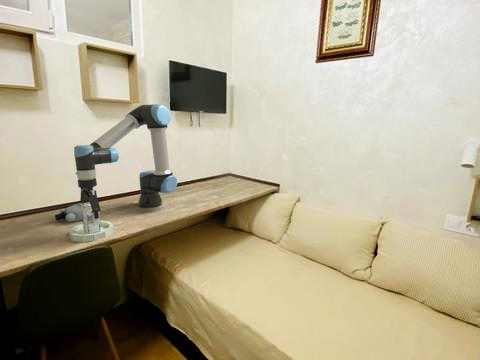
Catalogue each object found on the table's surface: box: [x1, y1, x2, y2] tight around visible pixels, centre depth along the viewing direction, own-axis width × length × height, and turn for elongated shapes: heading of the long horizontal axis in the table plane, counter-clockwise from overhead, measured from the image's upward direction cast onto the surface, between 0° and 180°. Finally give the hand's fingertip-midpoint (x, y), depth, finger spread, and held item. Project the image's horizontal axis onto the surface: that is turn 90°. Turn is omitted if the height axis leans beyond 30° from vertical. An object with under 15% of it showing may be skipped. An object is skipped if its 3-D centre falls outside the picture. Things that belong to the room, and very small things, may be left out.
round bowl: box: [68, 220, 115, 243], centre depth 123 cm, size 18×18×3 cm
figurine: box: [54, 202, 83, 222], centre depth 142 cm, size 17×8×20 cm
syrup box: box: [81, 201, 101, 234], centre depth 122 cm, size 6×6×14 cm
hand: (91, 221), depth 122 cm, fingers open, 13 cm apart
